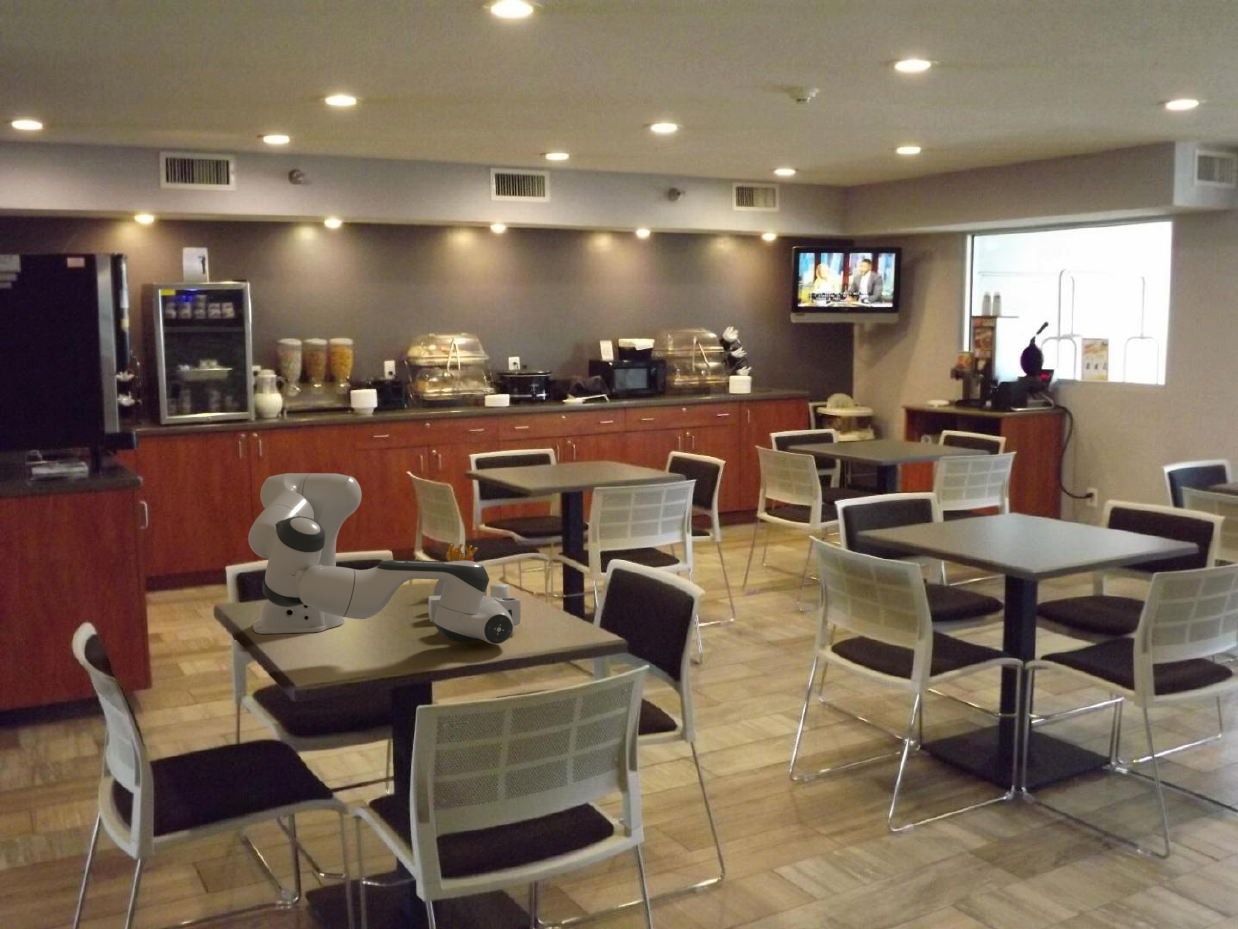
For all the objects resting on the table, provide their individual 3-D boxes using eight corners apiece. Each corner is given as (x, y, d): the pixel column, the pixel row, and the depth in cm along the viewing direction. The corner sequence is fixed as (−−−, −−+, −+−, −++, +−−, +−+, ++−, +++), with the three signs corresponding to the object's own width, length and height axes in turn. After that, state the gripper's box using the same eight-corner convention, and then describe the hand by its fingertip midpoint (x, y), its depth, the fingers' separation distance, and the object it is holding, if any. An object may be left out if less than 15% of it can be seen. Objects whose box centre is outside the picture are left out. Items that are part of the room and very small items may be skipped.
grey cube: (431, 623, 301) (431, 600, 301) (428, 619, 306) (428, 596, 305) (451, 621, 303) (450, 598, 302) (447, 617, 307) (447, 595, 307)
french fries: (452, 591, 340) (451, 540, 338) (480, 591, 339) (479, 540, 337) (444, 597, 331) (443, 545, 330) (473, 598, 330) (472, 545, 329)
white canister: (492, 618, 306) (492, 588, 305) (489, 614, 311) (488, 584, 310) (511, 616, 307) (511, 586, 307) (507, 612, 312) (507, 583, 311)
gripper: (443, 630, 283) (434, 618, 296) (526, 624, 289) (514, 612, 302) (442, 605, 282) (434, 593, 296) (525, 599, 289) (513, 588, 302)
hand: (475, 603), depth 299 cm, fingers open, 8 cm apart
